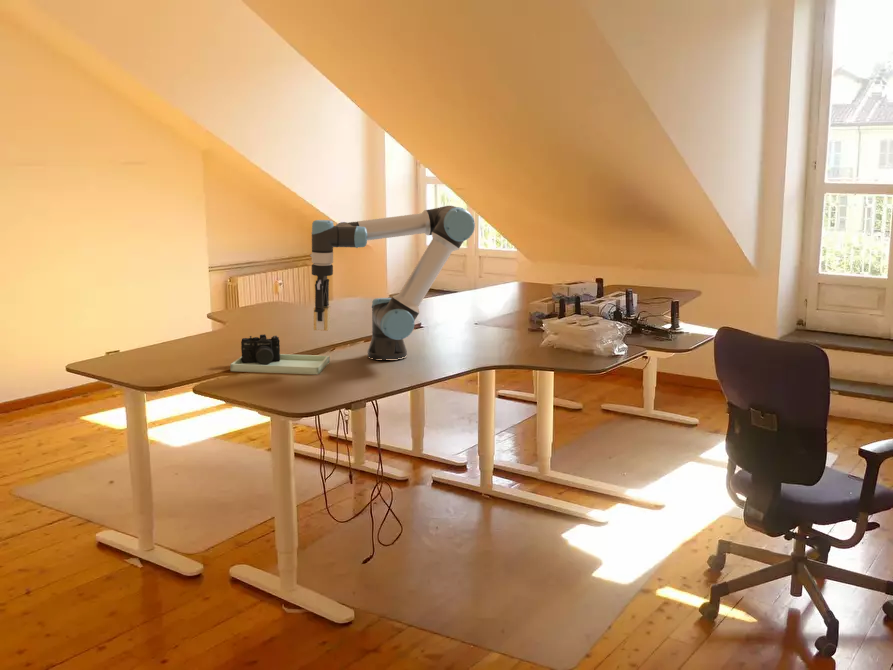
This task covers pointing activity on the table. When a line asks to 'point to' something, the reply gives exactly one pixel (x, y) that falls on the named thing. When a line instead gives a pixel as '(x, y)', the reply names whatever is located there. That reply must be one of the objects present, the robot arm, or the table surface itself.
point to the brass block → (326, 318)
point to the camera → (260, 350)
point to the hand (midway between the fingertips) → (321, 328)
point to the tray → (285, 364)
